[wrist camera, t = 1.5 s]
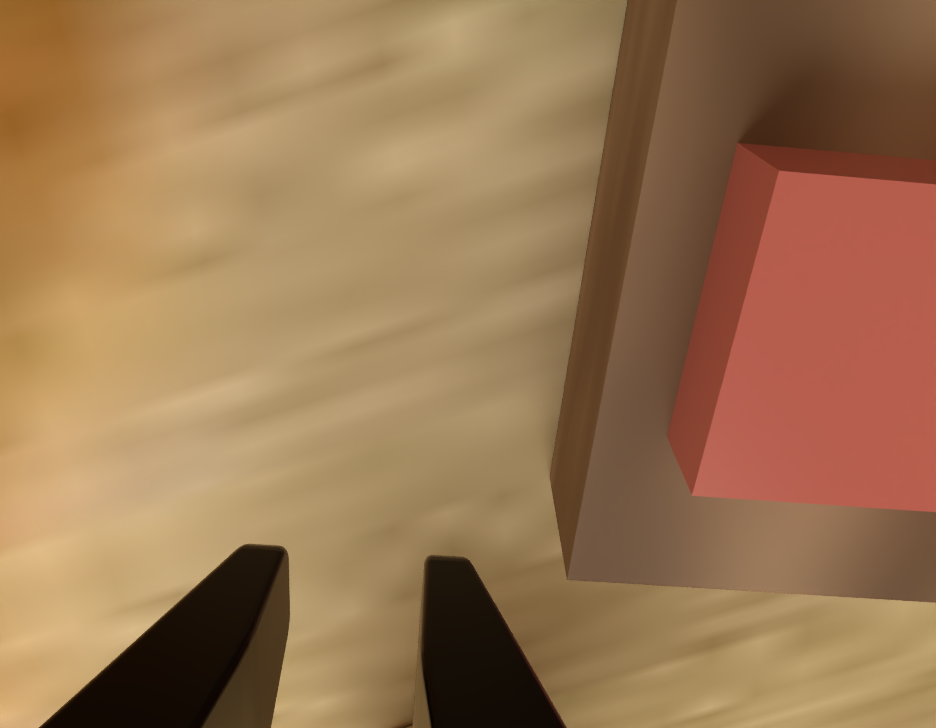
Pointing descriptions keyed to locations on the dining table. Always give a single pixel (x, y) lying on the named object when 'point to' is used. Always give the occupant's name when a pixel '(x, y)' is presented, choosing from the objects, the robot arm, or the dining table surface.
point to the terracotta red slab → (816, 335)
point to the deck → (682, 277)
